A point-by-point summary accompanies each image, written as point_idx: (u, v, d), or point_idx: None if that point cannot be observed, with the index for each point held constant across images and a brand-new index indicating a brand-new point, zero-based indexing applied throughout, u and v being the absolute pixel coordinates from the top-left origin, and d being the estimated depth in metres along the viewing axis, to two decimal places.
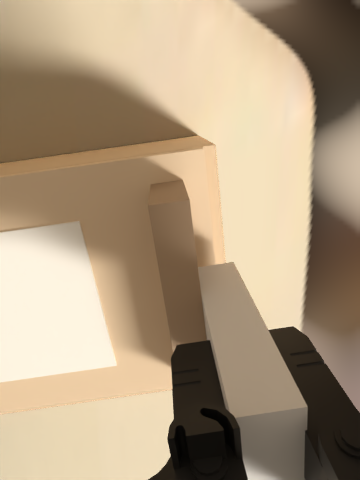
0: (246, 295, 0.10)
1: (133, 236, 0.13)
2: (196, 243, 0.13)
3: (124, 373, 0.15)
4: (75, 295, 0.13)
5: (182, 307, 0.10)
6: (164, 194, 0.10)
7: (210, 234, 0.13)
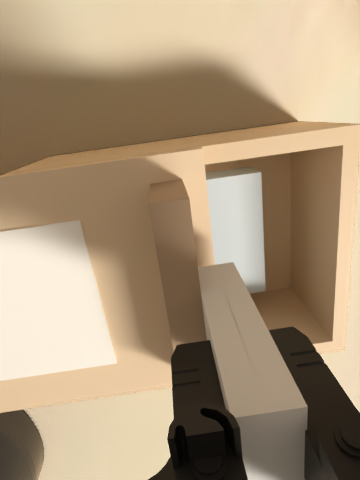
0: (246, 295, 0.10)
1: (133, 235, 0.13)
2: (195, 242, 0.13)
3: (124, 370, 0.15)
4: (76, 293, 0.13)
5: (182, 304, 0.11)
6: (164, 193, 0.10)
7: (209, 233, 0.13)
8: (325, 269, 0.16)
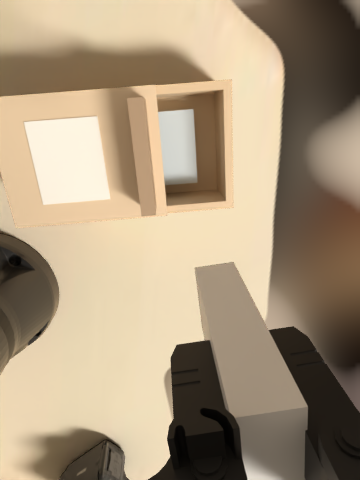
0: (246, 295, 0.10)
1: (121, 126, 0.27)
2: (151, 132, 0.27)
3: (113, 204, 0.29)
4: (92, 155, 0.28)
5: (140, 147, 0.25)
6: None
7: (158, 128, 0.27)
8: (223, 161, 0.30)
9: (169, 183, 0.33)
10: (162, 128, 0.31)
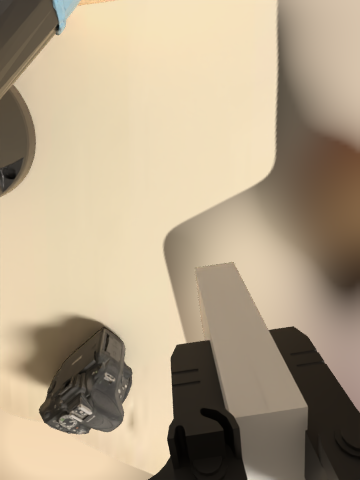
0: (246, 295, 0.10)
1: None
2: None
3: None
4: None
5: None
6: None
7: None
8: None
9: None
10: None
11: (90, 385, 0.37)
